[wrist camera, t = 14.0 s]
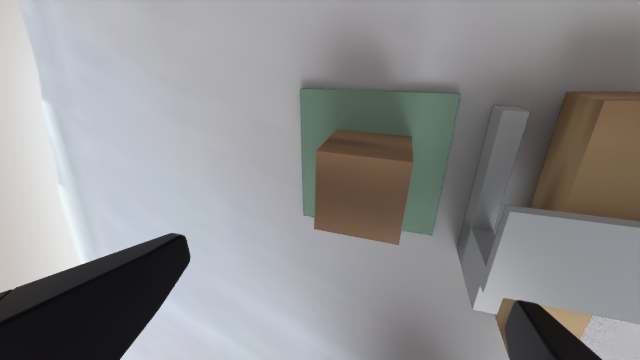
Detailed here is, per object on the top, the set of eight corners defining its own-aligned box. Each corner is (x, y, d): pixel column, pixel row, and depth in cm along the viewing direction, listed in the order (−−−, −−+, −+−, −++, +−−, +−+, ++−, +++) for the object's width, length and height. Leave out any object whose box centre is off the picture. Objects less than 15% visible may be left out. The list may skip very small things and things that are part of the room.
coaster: (431, 231, 17) (432, 235, 16) (305, 212, 19) (303, 215, 18) (459, 93, 13) (460, 94, 13) (302, 88, 15) (300, 89, 15)
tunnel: (639, 279, 14) (741, 376, 10) (456, 249, 17) (474, 318, 12) (741, 115, 11) (964, 155, 7) (493, 105, 13) (536, 129, 9)
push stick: (540, 322, 17) (564, 370, 15) (494, 313, 18) (508, 357, 16) (636, 91, 12) (701, 100, 9) (563, 91, 12) (604, 100, 10)
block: (400, 203, 16) (398, 244, 13) (333, 193, 17) (314, 228, 14) (411, 136, 14) (413, 162, 11) (336, 129, 15) (316, 151, 12)
